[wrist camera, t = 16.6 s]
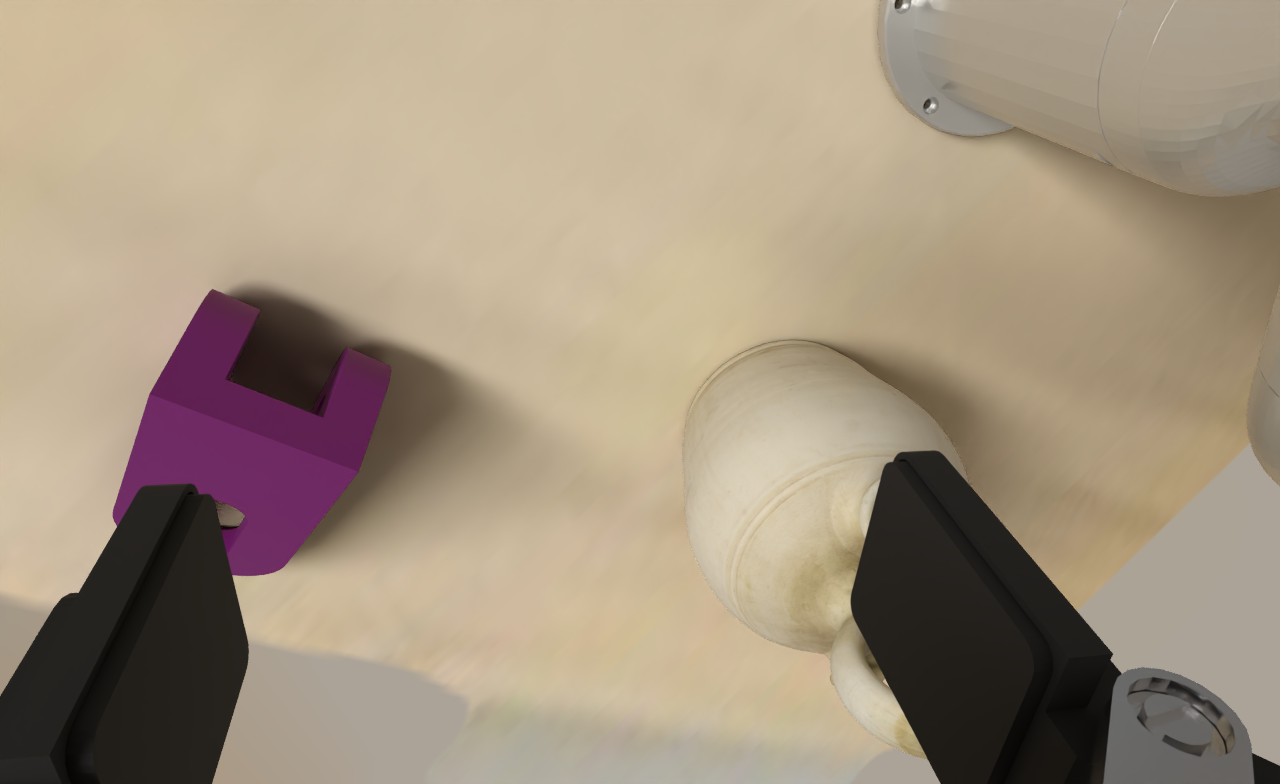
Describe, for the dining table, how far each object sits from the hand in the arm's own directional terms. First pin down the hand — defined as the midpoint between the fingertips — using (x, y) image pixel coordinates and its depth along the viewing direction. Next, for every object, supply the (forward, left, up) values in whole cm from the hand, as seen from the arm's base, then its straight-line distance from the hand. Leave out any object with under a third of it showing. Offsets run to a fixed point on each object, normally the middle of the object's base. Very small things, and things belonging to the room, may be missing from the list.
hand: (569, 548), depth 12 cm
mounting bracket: (+15, +20, -35) cm, 43 cm away
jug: (-17, +20, -35) cm, 43 cm away
